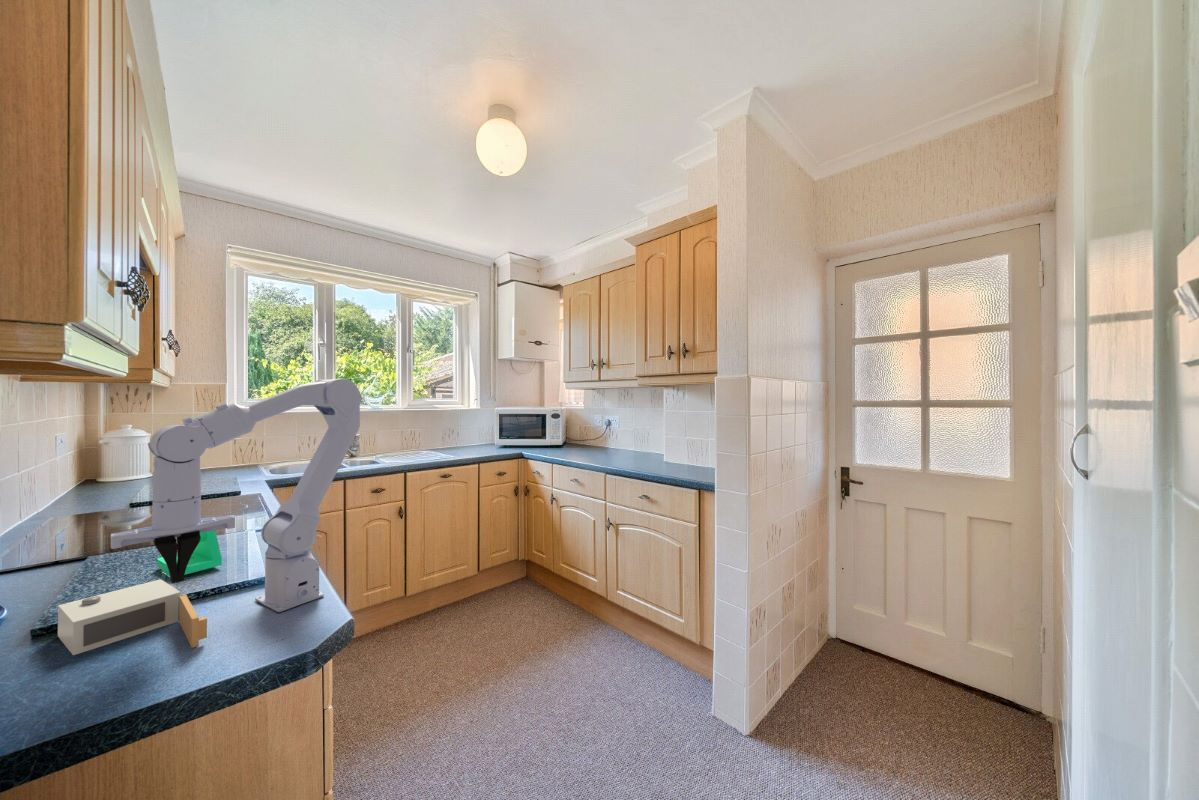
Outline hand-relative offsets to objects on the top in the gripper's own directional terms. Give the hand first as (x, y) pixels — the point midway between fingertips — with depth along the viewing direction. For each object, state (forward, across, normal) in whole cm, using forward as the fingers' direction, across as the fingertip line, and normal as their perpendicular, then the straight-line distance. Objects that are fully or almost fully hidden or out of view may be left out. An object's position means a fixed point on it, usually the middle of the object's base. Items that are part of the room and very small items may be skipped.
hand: (176, 580), depth 71 cm
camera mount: (+9, -5, -34) cm, 36 cm away
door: (+8, -2, +2) cm, 9 cm away
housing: (+9, +6, -9) cm, 14 cm away
